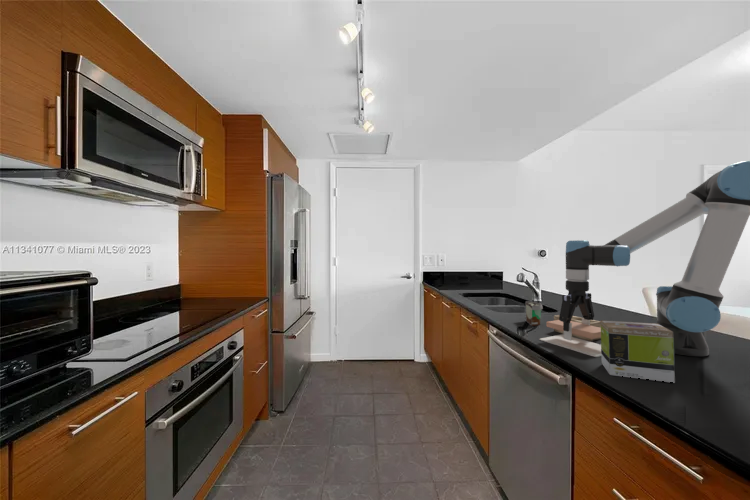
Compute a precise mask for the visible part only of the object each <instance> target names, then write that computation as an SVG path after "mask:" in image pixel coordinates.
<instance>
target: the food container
mask: <svg viewBox="0 0 750 500" xmlns="http://www.w3.org/2000/svg"><path fill="white" fill-rule="evenodd" d="M543 309H544V308H543V305H542V303H541V302H540V303H539V302H538V301H537V302H536V301H527V300H526V301H525V319H526V322H527V323H528V324H529V325H530V326H532V327H537V326H540V325H541V320H542V319H541V318H542V310H543Z"/></svg>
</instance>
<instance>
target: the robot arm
mask: <svg viewBox="0 0 750 500" xmlns="http://www.w3.org/2000/svg"><path fill="white" fill-rule="evenodd" d="M702 215H707V216H706V218H705V220H704V223H703V225H702V228H701V230H700V233H699V235H698V238H697V241H696V243H695V246H694V248H693V251H692V252H691V253H692V254H691V255H690V258H689V261H688V263H687V267H686V269H685V271H684V274H683V275H682V279H681V280H680V281H678V282H675V283H673V284H672V285H671V286H667V285H666V286H663V285H661V286H659V287H657V289H656V293H655V295H656V324H659V325H661V326H663V327H665V328H667V329H669V330H671V331H673V338H674V355H675V354H676V355H679V356H680V355H682V356H685V357H687V356H689V357H707V356H709V355H710V348H709V345H708V342H707V341H706V338H705V336H704V334H703V333H704V332H708V331H711V330H713V329H714V328H716V326H718V325H719V323H720V321H721V317H722V316H721V310H720V306H721V304H722V302H723V299H724V295H723V293H721V290H720V287H721V285H722V283H723V281H724V278H725V275H726V273H727V271H728V268H729V266H730V264H731V261H732V260H733V259H732V258H733V256H734V254H735V251H736V249H737V247H738V244H739V241H740V240H741V236H742V234H743V233H744V231H745V230H744V229H745V227H746V225H747V222H748V220H749V218H750V160H744V161H739V162H736V163H735V162H734V163H731V164H729V165H727V166H726V167H725V168H723V169H722V170H720V171H717V172H716V173H714V174H713V175H711V176H710V177H708V179H706V180H705V181H704V182H703V183H701V184H700V185H698V186H697V187H695V188H694V189H692V190H690V191H689V192H687V193H686V196H685V197H684V198H683V199H681V200H680V201H678V202H676V203H674V204H673V205H671V206H669V207H667V208H666V209H664V210H662V211H660V212H659V213H657V214H655V215H654V216H652V217H650V218H647V220H645V221H643V222H641V223H640V224H638V225H636V226H635V227H632V228H631V229H630V230H628V231H626V232H623V233H622V234H621V235H619V236H618V237H616V238H614V239H612V240H610V241H609V242H607V243H605V244H603V245H602V244H601V245H593V244H590V242H589V240H588V239H587V240H582V239H581V240H579V239H578V240H568V241H567V242H566V243H565V279H566V281H565V290H566V291H568V294H566V295H565V294H562V297H561V298H562V300H561V301H562V303H561V307H560V312H559V315H560V316H559V320H560V321H562V322H563V330H564V334H563V335H564V339H567V340H570V341H571V340H572V337H573V336H572V323H570V321H571V319H572V316H574V313H575V310H576V308H577V307H578V308H579V310H580V313H581V316H582V318H584V319H582V324H586V325H590V320H594V318H595V313H594V307H593V302H592V293H589V292H588V291H589V290H590V282H589V280H590V266H603V267H604V266H606V267H607V266H608V267H609V266H610V267H627V266H629V265H630V263H631V254H632V253H634V252H636V251H637V250H640V249H641V248H644V247H645V246H647V245H648V244H650V243H652V242H655V241H656V240H658V239H659V238H661V237H664V236H665V235H667V234H670V233H671V232H672V231H675V230H676V229H678V228H681V227H682V226H684V225H686V224H688V223H690V222H692V221H693V220H696V219H697V218H698V217H701V216H702Z"/></svg>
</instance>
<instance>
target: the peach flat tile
mask: <svg viewBox="0 0 750 500" xmlns="http://www.w3.org/2000/svg"><path fill="white" fill-rule="evenodd" d="M570 323H572V334H575V335H578V336H582V337H586V338H590V339H595V338H600V337H601V328H599V327H595V326H591V325H586V324H582V323H577V322H573V321H570ZM546 327H547V328H550V329H553V330H554V329H557V330H560V331H563V332H564V330H563V322H562V321H560V320H555V321H554V320H550V321H546Z"/></svg>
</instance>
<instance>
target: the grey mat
mask: <svg viewBox="0 0 750 500" xmlns="http://www.w3.org/2000/svg"><path fill="white" fill-rule="evenodd" d="M539 341H542V342H545V343H548V344H551V345H555V346H559V347H561V348H565V349H568V350H570V351H575V352H578V353H580V354H584V355H588V356H591V357H594V358H599V357H600V358H601V343H600V344H599V343H595V342H593V341H589V340H585V339H582V338H578V337H574V336H572V340H571V341H570V340H567V339H564V334H563V333H561V334H557V335H553V336H552V335H551V336H547V337H540V338H539Z"/></svg>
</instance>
